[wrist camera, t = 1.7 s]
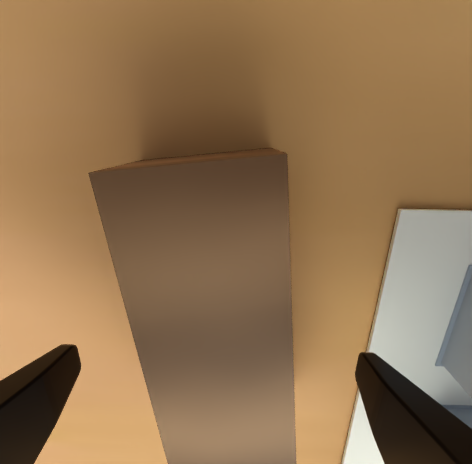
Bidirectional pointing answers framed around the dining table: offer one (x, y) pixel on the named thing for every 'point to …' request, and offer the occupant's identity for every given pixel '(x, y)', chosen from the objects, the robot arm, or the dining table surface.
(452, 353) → the tilted pale grey prism
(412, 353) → the white flat rectangular plate
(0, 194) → the dining table surface
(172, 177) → the lintel
